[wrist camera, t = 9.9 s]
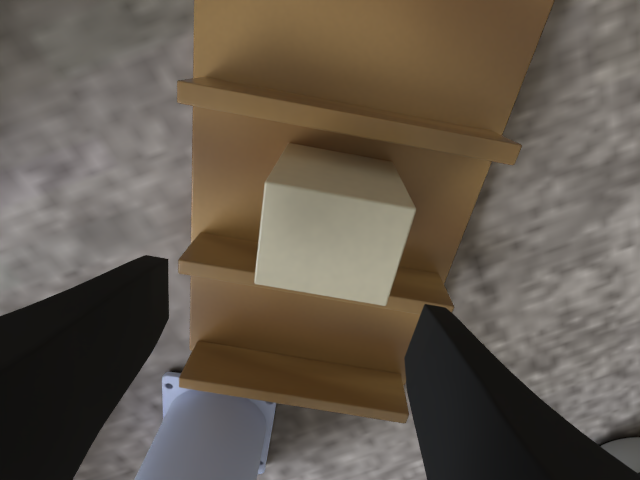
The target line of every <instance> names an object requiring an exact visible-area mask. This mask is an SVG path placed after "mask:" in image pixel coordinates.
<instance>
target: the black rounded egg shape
mask: <svg viewBox="0 0 640 480" xmlns="http://www.w3.org/2000/svg"><path fill="white" fill-rule="evenodd" d="M600 447H602V448H603V449H604V450H606V451H607V452H609V453H610V454H611V455H613V456H614V457H616V458H617V459H618V460H620V461H621V462H623V463H624V464H625V465H627V466H628V467H630V468H631V469H632V470H634V471H635V472H637V473H638V474H640V437H633V438H624V439H619V440H615V441H611V442H608V443H606V444H603V445H601V446H600Z"/></svg>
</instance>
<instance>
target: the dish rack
mask: <svg viewBox="0 0 640 480" xmlns="http://www.w3.org/2000/svg"><path fill="white" fill-rule="evenodd" d="M554 1H555V0H194V61H193V78H192V79H185V80H178V81H177V102H178V103H180V104H186V105H191V106H193V135H192V209H191V245H190V246H189V247H188V248H187V250H186V251H185V252H184V253H183V255H182V256H181V257H180V258H179V260H178V273H179V274H184V275H190V276H191V283H190V350H191V351H192V353H191V355H190V357H189V359H188V361H187V363H186V365H185V367H184V369H183V371H182V373H181V375H180V377H179V387H180V388H185V389H191V390H198V391H204V392H210V393H217V394H223V395H229V396H235V397H242V398H248V399H254V400H261V401H267V402H273V403H279V404H286V405H292V406H298V407H305V408H311V409H317V410H323V411H330V412H336V413H342V414H349V415H355V416H361V417H367V418H374V419H380V420H386V421H392V422H399V423H406V421H407V419H408V416H409V412H408V407H407V402H406V396H405V391H404V386H403V385H405V383H406V374H405V361H404V357H405V354H406V352H407V349H408V346H409V344H410V341H411V338H412V336H413V333H414V330H415V328H416V325H417V322H418V320H419V317H420V314H421V312H422V309H423V306H424V304H429V305H435V306H440V307H446V308H447V309H448V310H449V311H450V312H451V313H452V311H453V309H454V305H453V303H452V301H451V299H450V297H449V294H448V292H447V290H446V288H445V286H444V283H445V280H446V278H447V275H448V273H449V270H450V268H451V265H452V262H453V260H454V257H455V255H456V252H457V250H458V247H459V244H460V242H461V239H462V237H463V234H464V232H465V229H466V227H467V224H468V221H469V219H470V216H471V214H472V211H473V209H474V206H475V203H476V201H477V198H478V196H479V193H480V191H481V188H482V185H483V183H484V180H485V178H486V175H487V173H488V170H489V168H490V165H491V162H498V163H503V164H508V165H514V164H515V162H516V159H517V157H518V155H519V152H520V150H521V148H522V145H521V144H519V143H517V142H514V141H512V140H510V139H508V138H506V137H504V136H502V134H503V132H504V129H505V126H506V124H507V121H508V119H509V116H510V114H511V111H512V109H513V106H514V103H515V101H516V98H517V96H518V93H519V91H520V88H521V85H522V83H523V80H524V78H525V75H526V73H527V70H528V67H529V65H530V62H531V60H532V57H533V55H534V52H535V50H536V47H537V44H538V42H539V39H540V37H541V34H542V32H543V29H544V26H545V24H546V21H547V19H548V16H549V14H550V11H551V8H552V6H553V3H554ZM288 143H292V144H298V145H303V146H309V147H314V148H319V149H325V150H330V151H336V152H341V153H347V154H352V155H358V156H363V157H368V158H374V159H379V160H385V161H390V162H393V164H394V166H395V168H396V170H397V172H398V174H399V176H400V178H401V180H402V182H403V184H404V186H405V188H406V190H407V192H408V194H409V196H410V198H411V200H412V202H413V204H414V206H415V208H416V212H415V215H414V219H413V222H412V225H411V228H410V231H409V235H408V238H407V241H406V244H405V247H404V250H403V254H402V257H401V260H400V263H399V266H398V270H397V273H396V276H395V279H394V282H393V286H392V289H391V292H390V295H389V298H388V302H387V304H386V306H382V305H376V304H370V303H365V302H359V301H353V300H347V299H341V298H335V297H329V296H323V295H317V294H312V293H306V292H300V291H294V290H288V289H282V288H276V287H270V286H265V285H259V284H255V283H254V278H255V268H256V259H257V250H258V240H259V231H260V222H261V212H262V203H263V194H264V184H265V182H266V180H267V178H268V176H269V175H270V173H271V171H272V170H273V168H274V166H275V165H276V163H277V161H278V160H279V158H280V156H281V155H282V153H283V151H284V150H285V148H286V146H287V145H288Z"/></svg>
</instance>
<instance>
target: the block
mask: <svg viewBox="0 0 640 480" xmlns="http://www.w3.org/2000/svg"><path fill="white" fill-rule="evenodd" d="M415 212H416V208H415V206H414V204H413V202H412V200H411V198H410V196H409V194H408V192H407V190H406V188H405V186H404V184H403V182H402V180H401V178H400V176H399V174H398V172H397V170H396V168H395V166H394V164H393V162H390V161H385V160H379V159H374V158H368V157H363V156H358V155H352V154H347V153H341V152H336V151H330V150H325V149H319V148H314V147H309V146H303V145H298V144H292V143H288V145H287V146H286V148H285V150H284V151H283V153H282V155H281V156H280V158H279V160H278V161H277V163H276V165H275V166H274V168H273V170H272V171H271V173H270V175H269V176H268V178H267V180H266V182H265V184H264V194H263V203H262V212H261V222H260V231H259V240H258V250H257V259H256V268H255V278H254V283H255V284H259V285H265V286H270V287H276V288H282V289H288V290H294V291H300V292H306V293H312V294H317V295H323V296H329V297H335V298H341V299H347V300H353V301H359V302H365V303H370V304H376V305H382V306H386V304H387V302H388V298H389V295H390V292H391V289H392V286H393V282H394V279H395V276H396V273H397V270H398V266H399V263H400V260H401V257H402V254H403V250H404V247H405V244H406V241H407V238H408V235H409V231H410V228H411V225H412V222H413V219H414V215H415Z"/></svg>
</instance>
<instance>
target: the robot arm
mask: <svg viewBox="0 0 640 480" xmlns="http://www.w3.org/2000/svg"><path fill="white" fill-rule="evenodd" d="M168 319H169V294H168V259H165V258H159V257H153V256H148V255H145V256H142V257H140V258H137V259H135V260H133V261H130V262H128V263H126V264H124V265H121V266H119V267H117V268H115V269H113V270H111V271H108V272H106V273H104V274H102V275H100V276H97V277H95V278H93V279H91V280H89V281H86V282H84V283H82V284H80V285H78V286H75V287H73V288H71V289H68V290H66V291H63V292H61V293H59V294H56V295H54V296H51V297H49V298H46V299H44V300H42V301H39V302H37V303H34V304H32V305H29V306H27V307H24V308H22V309H19V310H16V311H14V312H11V313H8V314H5V315H2V316H0V480H73V478H74V476H75V474H76V472H77V471H78V469H79V467H80V465H81V463H82V461H83V459H84V458H85V456H86V454H87V452H88V450H89V448H90V447H91V445H92V443H93V441H94V440H95V438H96V436H97V435H98V433H99V431H100V430H101V428H102V427H103V425H104V423H105V422H106V420H107V419H108V417H109V416H110V414H111V413H112V411H113V410H114V408H115V407H116V405H117V404H118V402H119V401H120V399H121V398H122V396H123V395H124V393H125V392H126V390H127V389H128V387H129V386H130V384H131V383H132V381H133V380H134V379H135V377H136V376H137V374H138V372H139V371H140V369H141V368H142V366H143V365H144V363H145V362H146V360H147V359H148V357H149V356H150V354H151V353H152V351H153V349H154V347H155V345H156V344H157V342H158V340H159V338H160V336H161V334H162V331H163V329H164V327H165V325H166V323H167V321H168ZM404 361H405V374H406V384H407V392H408V397H409V402H410V406H411V411H412V415H413V420H414V424H415V428H416V432H417V437H418V441H419V445H420V450H421V454H422V458H423V463H424V467H425V471H426V476H427V480H640V474H638V473H637V472H635V471H634V470H632V469H631V468H630V467H628V466H627V465H625V464H624V463H623V462H621V461H620V460H618V459H617V458H616V457H614V456H613V455H611V454H610V453H609V452H607V451H606V450H604V449H603V448H602V447H600V446H599V445H598V444H596V443H595V442H594V441H592V440H591V439H590V438H588V437H587V436H586V435H584V434H583V433H582V432H580V431H579V430H578V429H577V428H575V427H574V426H573V425H572V424H570V423H569V422H568V421H567V420H565V419H564V418H563V417H562V416H561V415H559V414H558V413H557V412H556V411H554V410H553V409H552V408H551V407H549V406H548V405H547V404H546V403H545V402H544V401H542V400H541V399H540V398H539V397H538V396H537V395H536V394H534V393H533V392H532V391H531V390H530V389H529V388H528V387H527V386H526V385H525V384H523V383H522V382H521V381H520V380H519V379H518V378H517V377H516V376H515V375H514V374H513V373H511V372H510V371H509V370H508V369H507V368H506V367H505V366H504V365H503V364H502V363H501V362H500V361H499V360H498V359H497V358H496V357H495V356H494V355H493V354H492V353H491V352H490V351H489V350H488V349H487V348H486V347H485V346H484V345H483V344H482V343H481V342H480V341H479V340H478V339H477V338H476V337H475V336H474V335H473V334H472V333H471V332H470V331H469V330H468V329H467V328H466V327H465V326H464V325H463V323H462V322H461V321H460V320H459V319H458V318H457V317H456V316H454V315H453V314H452V313H451V312H450V311H449V310H448V309H447V308H446V307H440V306H435V305H429V304H424V306H423V309H422V312H421V314H420V317H419V320H418V322H417V325H416V328H415V330H414V333H413V336H412V338H411V341H410V344H409V346H408V349H407V352H406V354H405V357H404ZM180 375H181V373H175V372H166V373H165V374H164V375H163V377H162V397H163V422H162V424H161V426H160V428H159V430H158V432H157V434H156V436H155V438H154V440H153V442H152V444H151V446H150V448H149V451H148V453H147V455H146V457H145V459H144V461H143V463H142V465H141V467H140V469H139V471H138V473H137V475H136V477H135V479H134V480H257V474H262V473H264V471H265V467H266V461H267V455H268V449H269V444H270V438H271V432H272V426H273V420H274V414H275V409H276V403H273V402H267V401H261V400H254V399H248V398H242V397H235V396H229V395H223V394H217V393H210V392H204V391H198V390H191V389H185V388H180V387H179V377H180Z"/></svg>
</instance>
